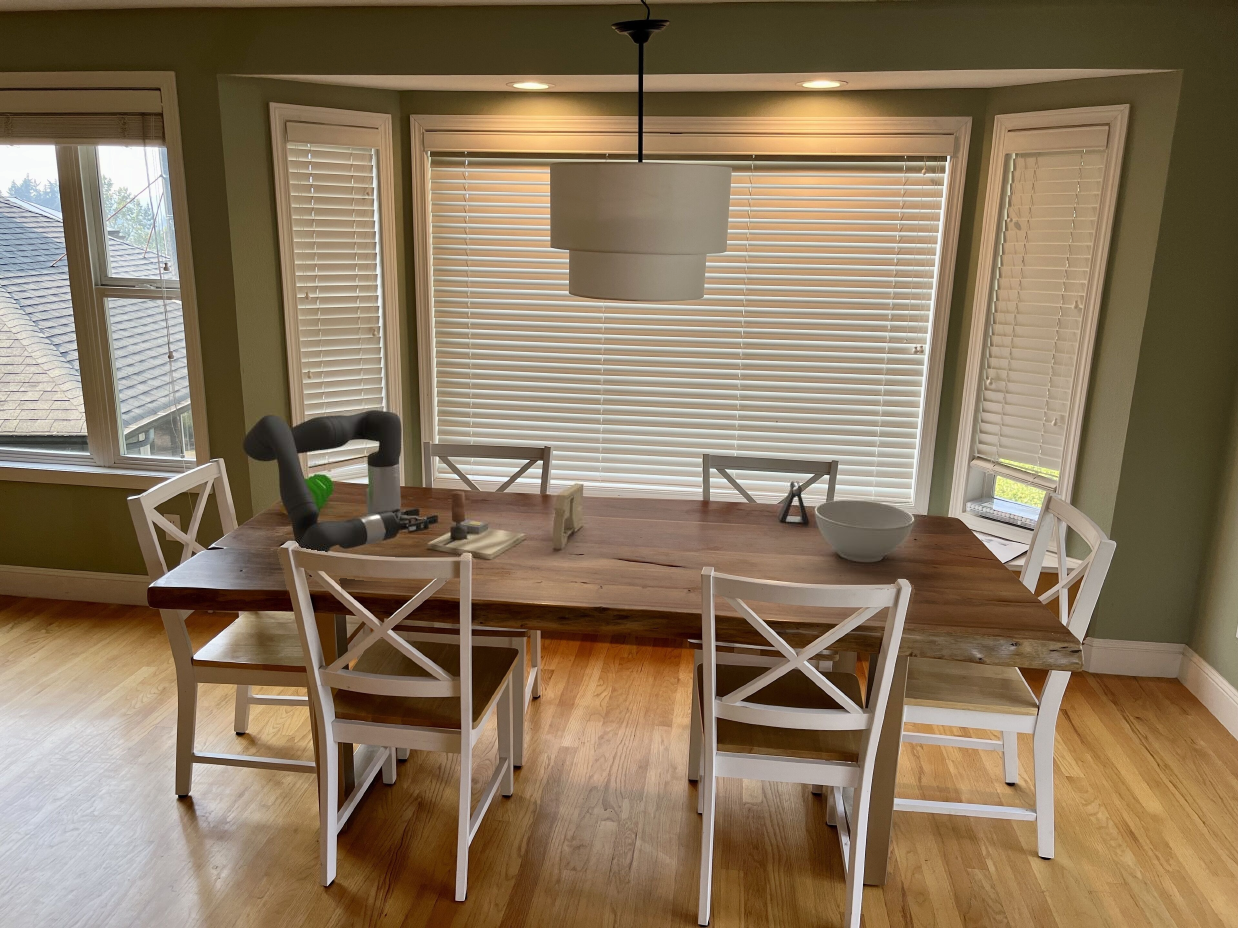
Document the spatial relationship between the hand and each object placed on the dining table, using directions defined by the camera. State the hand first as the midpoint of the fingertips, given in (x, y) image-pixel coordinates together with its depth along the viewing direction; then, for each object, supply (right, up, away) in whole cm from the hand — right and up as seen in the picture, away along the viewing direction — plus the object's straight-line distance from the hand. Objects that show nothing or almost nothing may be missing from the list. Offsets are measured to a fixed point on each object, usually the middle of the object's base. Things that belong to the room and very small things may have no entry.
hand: (427, 515), depth 243 cm
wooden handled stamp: (+7, -7, +10) cm, 13 cm away
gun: (+37, -7, +18) cm, 42 cm away
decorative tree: (-44, -1, +37) cm, 57 cm away
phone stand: (+107, -4, +38) cm, 113 cm away
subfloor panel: (+12, -9, +9) cm, 17 cm away
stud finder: (+10, -5, +16) cm, 20 cm away
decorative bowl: (+119, -12, +8) cm, 120 cm away
